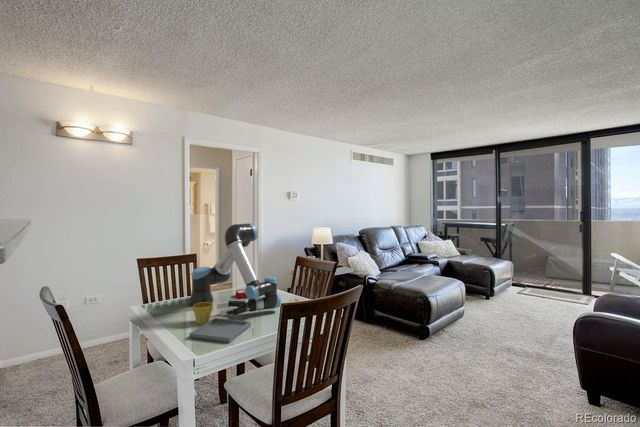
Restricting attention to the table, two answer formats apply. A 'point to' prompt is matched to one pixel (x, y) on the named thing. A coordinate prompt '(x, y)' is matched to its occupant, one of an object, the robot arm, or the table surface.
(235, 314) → the robot arm
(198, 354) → the table surface
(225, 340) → the tray
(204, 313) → the plant pot
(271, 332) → the table surface
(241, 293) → the alarm clock
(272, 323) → the table surface
